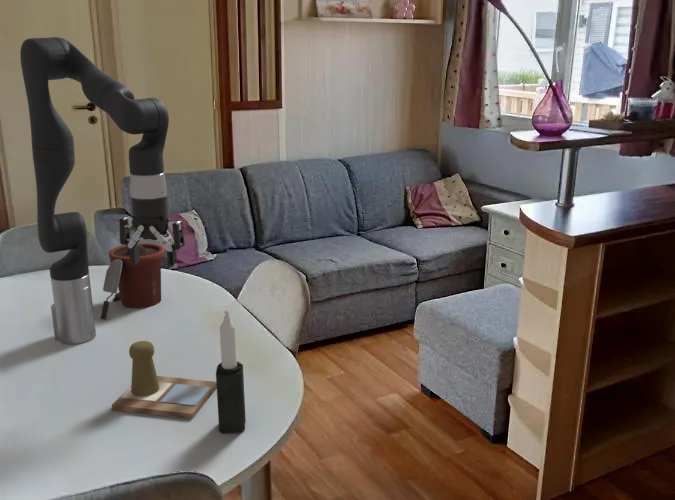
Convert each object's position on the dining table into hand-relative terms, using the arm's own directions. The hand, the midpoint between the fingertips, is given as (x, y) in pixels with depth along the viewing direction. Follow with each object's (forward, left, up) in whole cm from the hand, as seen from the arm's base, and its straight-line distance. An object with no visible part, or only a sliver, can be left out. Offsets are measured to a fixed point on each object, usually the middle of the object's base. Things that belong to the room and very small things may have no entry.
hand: (153, 264), depth 151 cm
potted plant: (-29, +39, -27) cm, 56 cm away
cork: (+1, -11, -25) cm, 28 cm away
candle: (+24, -19, -27) cm, 41 cm away
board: (+6, -11, -27) cm, 29 cm away
